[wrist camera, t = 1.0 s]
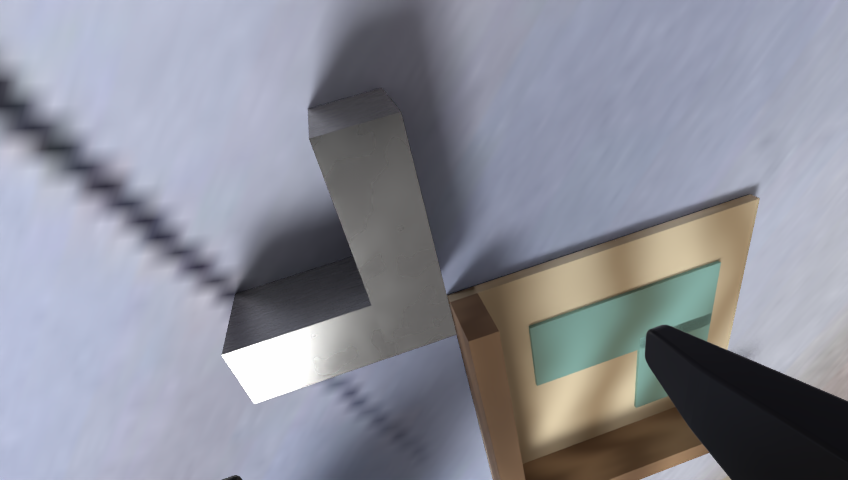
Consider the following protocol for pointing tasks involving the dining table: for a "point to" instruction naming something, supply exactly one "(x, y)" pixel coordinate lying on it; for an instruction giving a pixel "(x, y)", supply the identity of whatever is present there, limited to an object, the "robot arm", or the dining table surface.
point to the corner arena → (598, 347)
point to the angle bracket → (348, 265)
